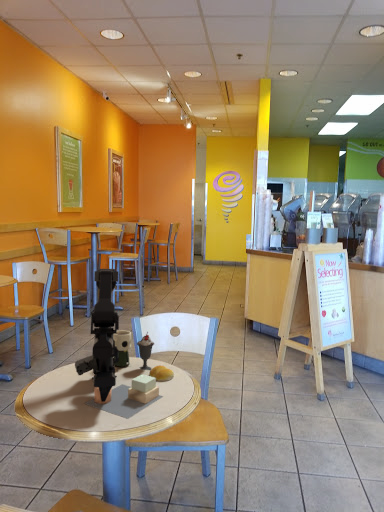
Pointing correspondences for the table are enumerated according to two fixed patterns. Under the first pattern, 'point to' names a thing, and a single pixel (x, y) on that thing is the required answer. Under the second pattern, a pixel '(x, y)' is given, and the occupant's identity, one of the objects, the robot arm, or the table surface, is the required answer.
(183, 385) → the table surface
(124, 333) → the character mug
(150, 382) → the tower top
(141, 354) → the sundae
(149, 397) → the tower base
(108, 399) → the peach gumdrop
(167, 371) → the bread roll
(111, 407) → the mat
